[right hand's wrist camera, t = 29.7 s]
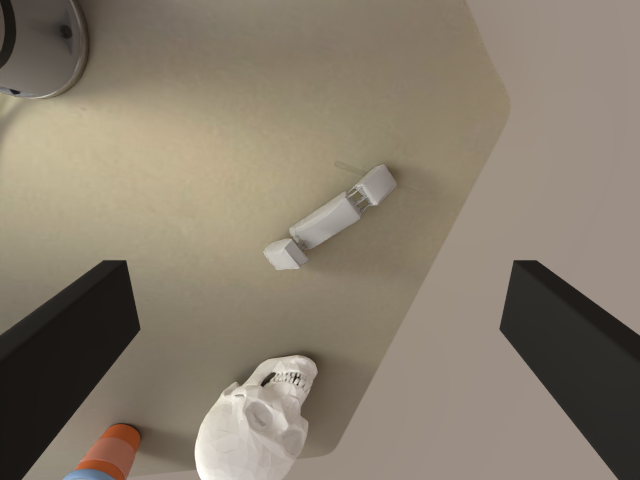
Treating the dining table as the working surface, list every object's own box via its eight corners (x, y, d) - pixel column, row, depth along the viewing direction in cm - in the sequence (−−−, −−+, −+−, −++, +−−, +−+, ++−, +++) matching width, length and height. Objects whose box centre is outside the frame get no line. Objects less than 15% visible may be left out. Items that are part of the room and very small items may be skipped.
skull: (340, 372, 60) (343, 460, 45) (258, 445, 65) (236, 543, 51) (278, 325, 57) (259, 401, 42) (198, 405, 63) (157, 497, 48)
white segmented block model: (278, 267, 52) (277, 287, 46) (261, 247, 51) (258, 265, 45) (391, 182, 50) (407, 191, 43) (376, 160, 49) (390, 166, 42)
